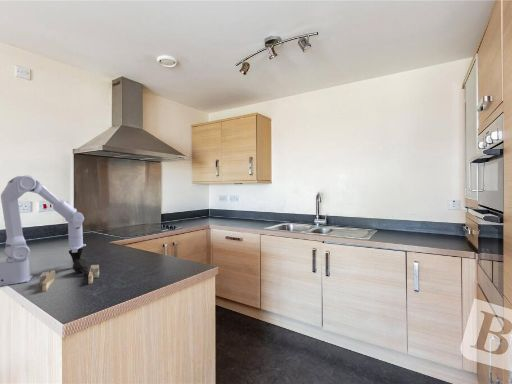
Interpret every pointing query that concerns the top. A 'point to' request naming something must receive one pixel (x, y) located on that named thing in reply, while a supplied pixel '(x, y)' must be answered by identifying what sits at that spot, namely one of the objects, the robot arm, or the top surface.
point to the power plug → (80, 266)
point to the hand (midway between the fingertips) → (76, 264)
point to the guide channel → (48, 278)
